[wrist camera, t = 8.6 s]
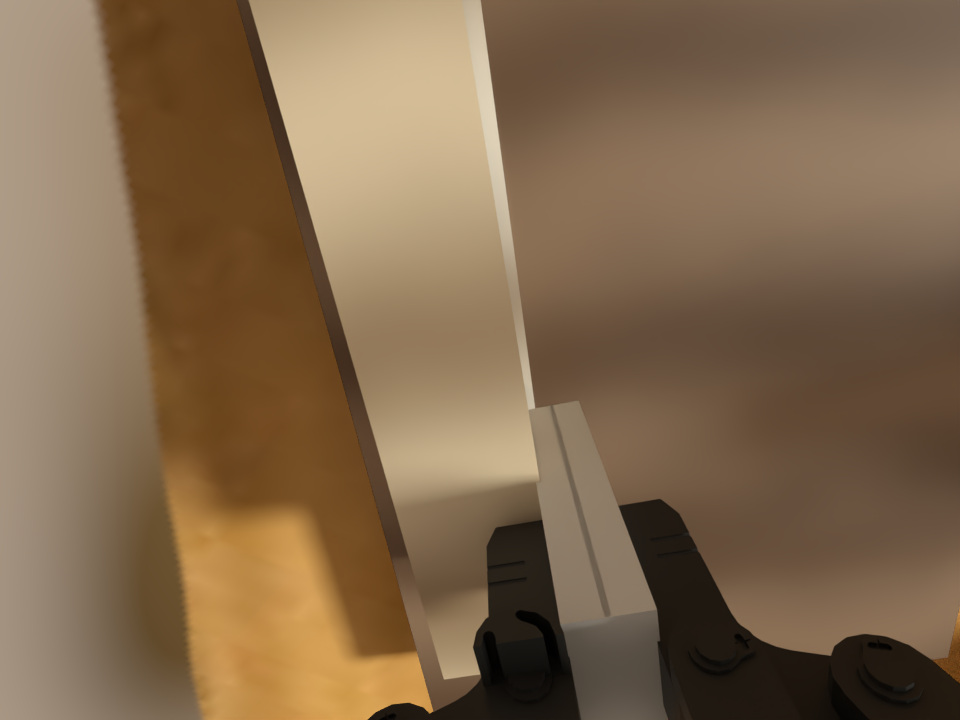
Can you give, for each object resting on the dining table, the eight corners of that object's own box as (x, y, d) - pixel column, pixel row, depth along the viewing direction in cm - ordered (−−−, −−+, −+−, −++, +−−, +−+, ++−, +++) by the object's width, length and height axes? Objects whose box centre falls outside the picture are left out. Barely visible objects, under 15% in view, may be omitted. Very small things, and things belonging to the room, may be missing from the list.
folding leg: (272, -139, 11) (168, -279, 7) (429, -173, 10) (407, -334, 7) (448, 559, 17) (443, 679, 13) (547, 544, 17) (569, 661, 13)
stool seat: (207, -263, 12) (129, -379, 10) (1054, -435, 12) (1245, -617, 9) (440, 650, 23) (436, 724, 20) (888, 591, 22) (950, 660, 19)
